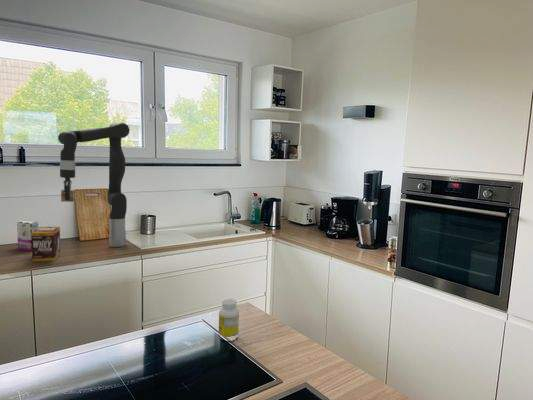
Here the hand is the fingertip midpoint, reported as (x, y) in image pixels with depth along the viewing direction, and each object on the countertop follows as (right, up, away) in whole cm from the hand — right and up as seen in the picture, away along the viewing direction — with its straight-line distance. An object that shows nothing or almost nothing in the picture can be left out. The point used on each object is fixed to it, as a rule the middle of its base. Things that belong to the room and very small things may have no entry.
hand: (67, 199), depth 218 cm
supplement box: (-10, -32, -3) cm, 33 cm away
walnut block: (0, -1, 0) cm, 1 cm away
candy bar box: (-28, -29, +11) cm, 42 cm away
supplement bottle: (+97, -47, -84) cm, 137 cm away
